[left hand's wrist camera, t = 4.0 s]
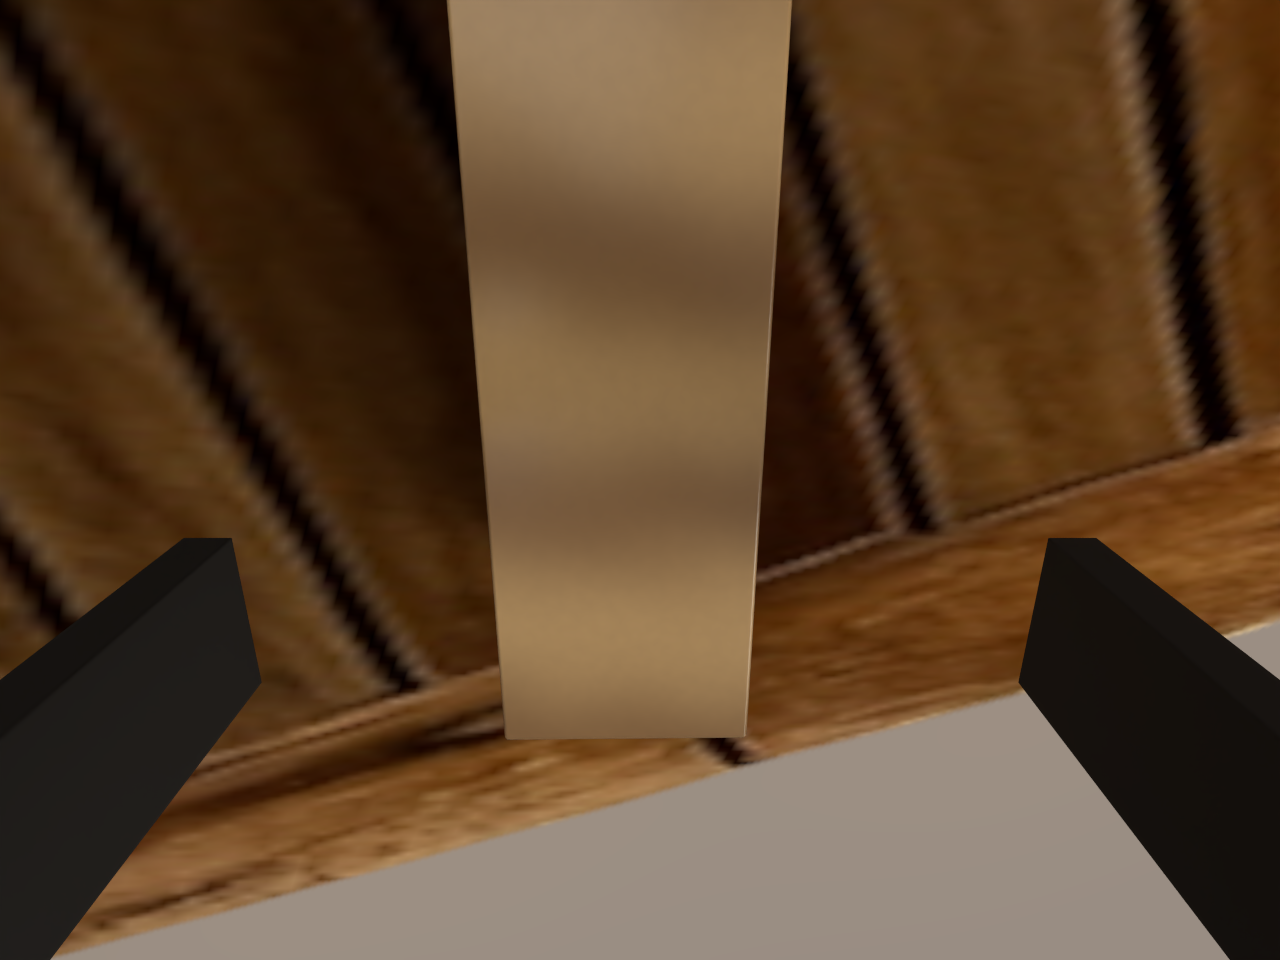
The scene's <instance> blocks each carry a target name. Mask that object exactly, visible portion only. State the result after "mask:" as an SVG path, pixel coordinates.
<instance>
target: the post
mask: <svg viewBox="0 0 1280 960" xmlns="http://www.w3.org/2000/svg"><path fill="white" fill-rule="evenodd" d="M791 9H792V0H447V10H448V23H449V36H450V48H451V61H452V74H453V86H454V99H455V112H456V124H457V137H458V150H459V162H460V175H461V187H462V200H463V213H464V225H465V238H466V251H467V263H468V276H469V289H470V301H471V314H472V327H473V339H474V352H475V364H476V377H477V390H478V402H479V415H480V428H481V440H482V453H483V466H484V478H485V491H486V504H487V516H488V529H489V541H490V554H491V567H492V579H493V592H494V605H495V617H496V630H497V643H498V655H499V668H500V681H501V693H502V706H503V718H504V731H505V738H506V739H508V740H512V739H623V738H735V737H745V736H746V730H747V714H748V698H749V682H750V666H751V650H752V634H753V618H754V602H755V586H756V570H757V554H758V538H759V522H760V506H761V490H762V474H763V458H764V442H765V426H766V410H767V394H768V378H769V362H770V346H771V330H772V314H773V298H774V281H775V265H776V249H777V233H778V217H779V201H780V185H781V169H782V153H783V137H784V121H785V105H786V89H787V73H788V57H789V41H790V25H791Z"/></svg>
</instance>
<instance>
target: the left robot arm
mask: <svg viewBox="0 0 1280 960" xmlns="http://www.w3.org/2000/svg"><path fill="white" fill-rule="evenodd" d="M260 684H261V678H260V673H259V668H258V663H257V658H256V653H255V649H254V644H253V639H252V634H251V629H250V625H249V620H248V615H247V610H246V605H245V601H244V596H243V591H242V586H241V581H240V577H239V572H238V567H237V562H236V557H235V552H234V548H233V543H232V538H183V539H182V540H181V541H179V542H178V543H177V544H176V545H174V546H173V547H172V548H170V549H169V550H168V551H166V552H165V553H164V554H163V555H161V556H160V557H159V558H157V559H156V560H155V561H154V562H152V563H151V564H150V565H148V566H147V567H146V568H144V569H143V570H142V571H141V572H139V573H138V574H137V575H135V576H134V577H133V578H132V579H130V580H129V581H128V582H126V583H125V584H124V585H122V586H121V587H120V588H119V589H117V590H116V591H115V592H113V593H112V594H111V595H110V596H108V597H107V598H106V599H104V600H103V601H102V602H100V603H99V604H98V605H97V606H95V607H94V608H93V609H91V610H90V611H89V612H88V613H86V614H85V615H84V616H82V617H81V618H80V619H78V620H77V621H76V622H75V623H73V624H72V625H71V626H69V627H68V628H67V629H66V630H64V631H63V632H62V633H60V634H59V635H58V636H56V637H55V638H54V639H53V640H51V641H50V642H49V643H47V644H46V645H45V646H44V647H42V648H41V649H40V650H38V651H37V652H36V653H34V654H33V655H32V656H31V657H29V658H28V659H27V660H25V661H24V662H23V663H21V664H20V665H19V666H18V667H16V668H15V669H14V670H12V671H11V672H10V673H9V674H7V675H6V676H5V677H3V678H2V679H1V680H0V960H50V959H51V958H52V957H53V955H54V954H55V953H56V951H57V950H58V949H59V947H60V946H61V945H62V944H63V942H64V941H65V940H66V938H67V937H68V936H69V934H70V933H71V932H72V930H73V929H74V928H75V926H76V925H77V924H78V923H79V921H80V920H81V919H82V917H83V916H84V915H85V913H86V912H87V911H88V909H89V908H90V907H91V905H92V904H93V903H94V902H95V900H96V899H97V898H98V896H99V895H100V894H101V892H102V891H103V890H104V888H105V887H106V886H107V884H108V883H109V882H110V881H111V879H112V878H113V877H114V875H115V874H116V873H117V871H118V870H119V869H120V867H121V866H122V865H123V864H124V862H125V861H126V860H127V858H128V857H129V856H130V854H131V853H132V852H133V850H134V849H135V848H136V846H137V845H138V844H139V843H140V841H141V840H142V839H143V837H144V836H145V835H146V833H147V832H148V831H149V829H150V828H151V827H152V825H153V824H154V823H155V822H156V820H157V819H158V818H159V816H160V815H161V814H162V812H163V811H164V810H165V808H166V807H167V806H168V804H169V803H170V802H171V801H172V799H173V798H174V797H175V795H176V794H177V793H178V791H179V790H180V789H181V787H182V786H183V785H184V783H185V782H186V781H187V780H188V778H189V777H190V776H191V774H192V773H193V772H194V770H195V769H196V768H197V766H198V765H199V764H200V762H201V761H202V760H203V759H204V757H205V756H206V755H207V753H208V752H209V751H210V749H211V748H212V747H213V745H214V744H215V743H216V741H217V740H218V739H219V738H220V736H221V735H222V734H223V732H224V731H225V730H226V728H227V727H228V726H229V724H230V723H231V722H232V720H233V719H234V718H235V717H236V715H237V714H238V713H239V711H240V710H241V709H242V707H243V706H244V705H245V703H246V702H247V701H248V699H249V698H250V697H251V696H252V694H253V693H254V692H255V690H256V689H257V688H258V686H259V685H260ZM1019 684H1020V685H1021V686H1022V688H1023V689H1024V690H1025V692H1026V693H1027V694H1028V696H1029V697H1030V698H1031V699H1032V701H1033V702H1034V703H1035V705H1036V706H1037V707H1038V709H1039V710H1040V711H1041V713H1042V714H1043V715H1044V716H1045V718H1046V719H1047V720H1048V722H1049V723H1050V724H1051V726H1052V727H1053V728H1054V730H1055V731H1056V732H1057V734H1058V735H1059V736H1060V737H1061V739H1062V740H1063V741H1064V743H1065V744H1066V745H1067V747H1068V748H1069V749H1070V751H1071V752H1072V753H1073V755H1074V756H1075V757H1076V758H1077V760H1078V761H1079V762H1080V764H1081V765H1082V766H1083V768H1084V769H1085V770H1086V772H1087V773H1088V774H1089V776H1090V777H1091V778H1092V779H1093V781H1094V782H1095V783H1096V785H1097V786H1098V787H1099V789H1100V790H1101V791H1102V793H1103V794H1104V795H1105V796H1106V798H1107V799H1108V800H1109V802H1110V803H1111V804H1112V806H1113V807H1114V808H1115V810H1116V811H1117V812H1118V814H1119V815H1120V816H1121V817H1122V819H1123V820H1124V822H1125V823H1126V824H1127V825H1128V827H1129V828H1130V829H1131V831H1132V832H1133V833H1134V835H1135V836H1136V837H1137V839H1138V840H1139V841H1140V842H1141V844H1142V845H1143V846H1144V848H1145V849H1146V850H1147V852H1148V853H1149V854H1150V856H1151V857H1152V858H1153V860H1154V861H1155V862H1156V864H1157V865H1158V866H1159V867H1160V869H1161V870H1162V871H1163V873H1164V874H1165V875H1166V877H1167V878H1168V879H1169V881H1170V882H1171V883H1172V884H1173V886H1174V887H1175V888H1176V890H1177V891H1178V892H1179V894H1180V895H1181V896H1182V898H1183V899H1184V900H1185V902H1186V903H1187V904H1188V905H1189V907H1190V908H1191V909H1192V911H1193V912H1194V913H1195V915H1196V916H1197V917H1198V919H1199V920H1200V921H1201V923H1202V924H1203V925H1204V926H1205V928H1206V929H1207V930H1208V932H1209V933H1210V934H1211V936H1212V937H1213V938H1214V940H1215V941H1216V942H1217V943H1218V945H1219V946H1220V947H1221V949H1222V950H1223V951H1224V953H1225V954H1226V955H1227V957H1228V958H1229V959H1230V960H1280V680H1279V679H1278V678H1277V677H1275V676H1274V675H1273V674H1271V673H1270V672H1269V671H1267V670H1266V669H1265V668H1264V667H1262V666H1261V665H1260V664H1258V663H1257V662H1256V661H1255V660H1253V659H1252V658H1251V657H1249V656H1248V655H1247V654H1246V653H1244V652H1243V651H1242V650H1240V649H1239V648H1238V647H1236V646H1235V645H1234V644H1233V643H1231V642H1230V641H1229V640H1227V639H1226V638H1225V637H1224V636H1222V635H1221V634H1220V633H1218V632H1217V631H1216V630H1214V629H1213V628H1212V627H1211V626H1209V625H1208V624H1207V623H1205V622H1204V621H1203V620H1202V619H1200V618H1199V617H1198V616H1196V615H1195V614H1194V613H1192V612H1191V611H1190V610H1189V609H1187V608H1186V607H1185V606H1183V605H1182V604H1181V603H1180V602H1178V601H1177V600H1176V599H1174V598H1173V597H1172V596H1170V595H1169V594H1168V593H1167V592H1165V591H1164V590H1163V589H1161V588H1160V587H1159V586H1158V585H1156V584H1155V583H1154V582H1152V581H1151V580H1150V579H1148V578H1147V577H1146V576H1145V575H1143V574H1142V573H1141V572H1139V571H1138V570H1137V569H1136V568H1134V567H1133V566H1132V565H1130V564H1129V563H1128V562H1126V561H1125V560H1124V559H1123V558H1121V557H1120V556H1119V555H1117V554H1116V553H1115V552H1114V551H1112V550H1111V549H1110V548H1108V547H1107V546H1106V545H1104V544H1103V543H1102V542H1101V541H1099V540H1098V539H1097V538H1048V543H1047V548H1046V552H1045V557H1044V562H1043V567H1042V572H1041V577H1040V581H1039V586H1038V591H1037V596H1036V601H1035V605H1034V610H1033V615H1032V620H1031V625H1030V629H1029V634H1028V639H1027V644H1026V649H1025V653H1024V658H1023V663H1022V668H1021V673H1020V678H1019Z"/></svg>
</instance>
